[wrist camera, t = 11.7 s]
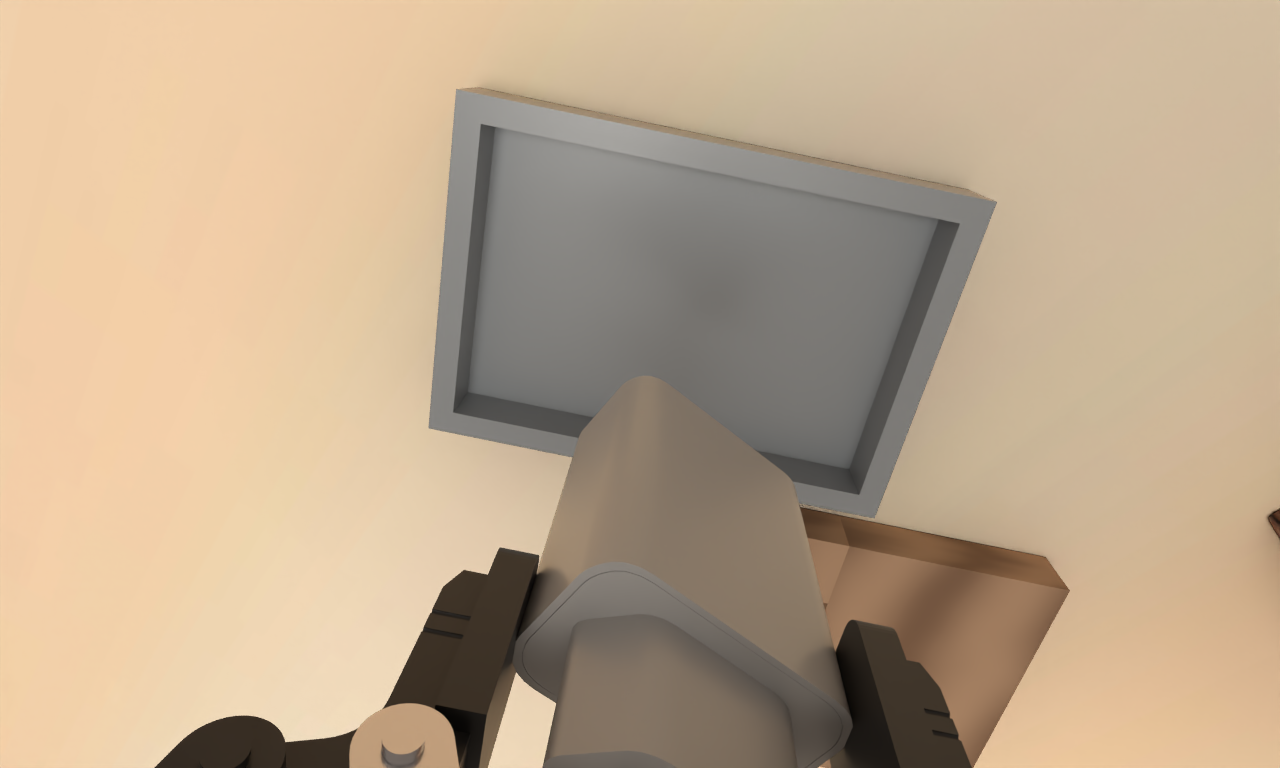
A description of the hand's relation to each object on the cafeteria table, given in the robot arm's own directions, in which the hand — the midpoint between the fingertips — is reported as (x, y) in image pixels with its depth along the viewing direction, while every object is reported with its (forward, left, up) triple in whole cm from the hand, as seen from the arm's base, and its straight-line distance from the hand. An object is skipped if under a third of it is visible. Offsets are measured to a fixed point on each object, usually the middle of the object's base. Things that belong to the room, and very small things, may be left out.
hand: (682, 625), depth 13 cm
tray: (0, 0, -20) cm, 20 cm away
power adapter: (0, 0, -6) cm, 6 cm away
